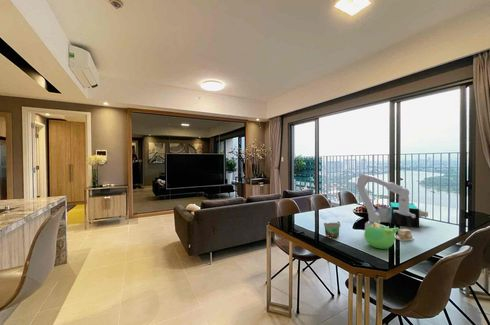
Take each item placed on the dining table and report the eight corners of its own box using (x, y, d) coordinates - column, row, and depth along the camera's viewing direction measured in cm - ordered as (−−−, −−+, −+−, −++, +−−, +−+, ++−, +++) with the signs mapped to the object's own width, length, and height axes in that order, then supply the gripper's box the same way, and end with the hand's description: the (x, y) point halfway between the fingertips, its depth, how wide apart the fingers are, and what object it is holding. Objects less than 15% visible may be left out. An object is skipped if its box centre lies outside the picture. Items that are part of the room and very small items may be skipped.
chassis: (401, 241, 142) (401, 237, 142) (393, 237, 148) (393, 234, 148) (414, 239, 144) (414, 236, 144) (405, 236, 150) (405, 233, 150)
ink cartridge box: (388, 221, 189) (388, 204, 189) (391, 222, 183) (391, 205, 183) (376, 220, 191) (376, 204, 191) (379, 222, 185) (378, 205, 185)
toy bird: (369, 240, 145) (368, 218, 145) (399, 246, 133) (399, 223, 133) (361, 248, 132) (360, 224, 132) (394, 256, 120) (393, 230, 120)
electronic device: (431, 229, 164) (431, 210, 164) (391, 225, 177) (391, 207, 177) (424, 221, 186) (424, 204, 186) (389, 217, 199) (389, 201, 199)
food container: (329, 239, 146) (329, 225, 146) (323, 236, 152) (323, 222, 152) (344, 237, 149) (344, 223, 149) (338, 234, 155) (338, 221, 155)
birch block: (403, 238, 144) (403, 231, 144) (398, 236, 147) (398, 229, 147) (410, 237, 145) (410, 230, 145) (405, 235, 149) (405, 228, 149)
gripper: (419, 207, 140) (419, 228, 140) (399, 203, 154) (399, 222, 154) (410, 208, 138) (410, 229, 138) (390, 203, 152) (390, 222, 152)
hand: (403, 225), depth 146 cm, fingers open, 7 cm apart
